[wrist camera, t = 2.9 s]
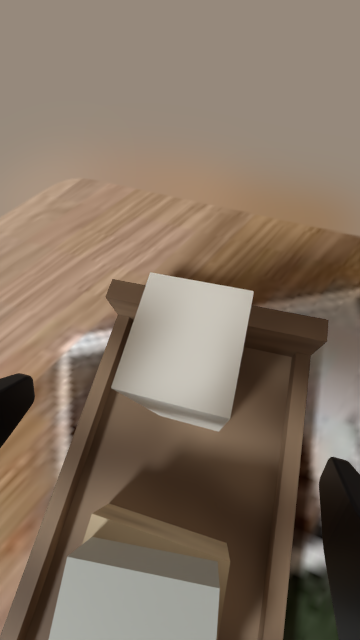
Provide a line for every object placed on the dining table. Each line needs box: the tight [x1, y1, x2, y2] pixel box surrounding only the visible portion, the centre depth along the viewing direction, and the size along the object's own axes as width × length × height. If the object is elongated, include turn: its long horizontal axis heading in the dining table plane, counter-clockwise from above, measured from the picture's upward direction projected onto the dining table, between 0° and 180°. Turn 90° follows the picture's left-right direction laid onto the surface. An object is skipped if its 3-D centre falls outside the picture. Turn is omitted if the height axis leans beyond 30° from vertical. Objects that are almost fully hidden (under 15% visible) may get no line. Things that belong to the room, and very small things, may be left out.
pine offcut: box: [82, 504, 230, 640], centre depth 13 cm, size 6×6×2 cm
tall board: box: [111, 272, 254, 432], centre depth 13 cm, size 4×4×10 cm
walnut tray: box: [0, 279, 329, 640], centre depth 15 cm, size 20×12×4 cm, turn 166°
